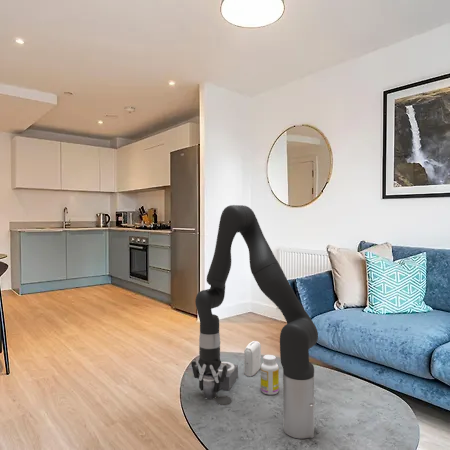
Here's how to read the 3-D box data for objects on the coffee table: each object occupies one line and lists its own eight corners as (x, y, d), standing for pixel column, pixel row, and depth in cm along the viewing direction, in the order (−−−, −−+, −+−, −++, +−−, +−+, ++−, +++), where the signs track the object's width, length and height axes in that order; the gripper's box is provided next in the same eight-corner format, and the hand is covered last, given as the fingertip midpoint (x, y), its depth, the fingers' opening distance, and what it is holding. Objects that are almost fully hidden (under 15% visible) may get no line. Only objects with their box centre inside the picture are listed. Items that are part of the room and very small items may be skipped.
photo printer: (252, 377, 147) (252, 347, 147) (242, 375, 149) (242, 345, 149) (262, 368, 156) (262, 339, 156) (252, 366, 158) (252, 338, 158)
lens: (218, 393, 134) (218, 371, 134) (214, 400, 129) (214, 377, 129) (205, 391, 135) (205, 369, 135) (200, 398, 130) (200, 375, 130)
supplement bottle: (278, 387, 139) (278, 353, 138) (279, 396, 132) (279, 360, 132) (260, 386, 139) (260, 353, 139) (260, 395, 133) (260, 360, 132)
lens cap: (233, 399, 130) (233, 397, 130) (229, 407, 125) (229, 404, 125) (218, 397, 132) (218, 395, 132) (213, 404, 127) (213, 402, 127)
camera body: (238, 377, 148) (238, 361, 147) (229, 390, 136) (229, 374, 136) (216, 374, 150) (216, 359, 150) (206, 387, 139) (206, 371, 139)
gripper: (187, 345, 130) (187, 392, 131) (225, 349, 126) (225, 398, 126) (195, 339, 137) (195, 383, 138) (231, 342, 133) (231, 389, 133)
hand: (209, 390), depth 132 cm, fingers closed on lens, 5 cm apart
